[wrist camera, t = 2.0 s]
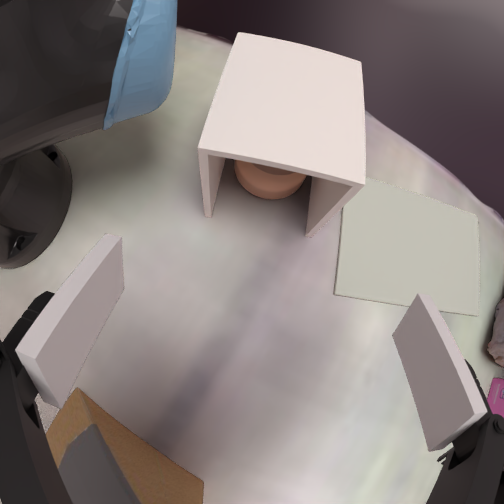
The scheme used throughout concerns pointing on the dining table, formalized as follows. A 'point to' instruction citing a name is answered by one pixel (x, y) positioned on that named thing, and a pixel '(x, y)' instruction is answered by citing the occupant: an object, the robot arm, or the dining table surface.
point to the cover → (288, 121)
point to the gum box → (496, 396)
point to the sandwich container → (113, 460)
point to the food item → (498, 335)
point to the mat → (408, 250)
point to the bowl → (267, 180)
